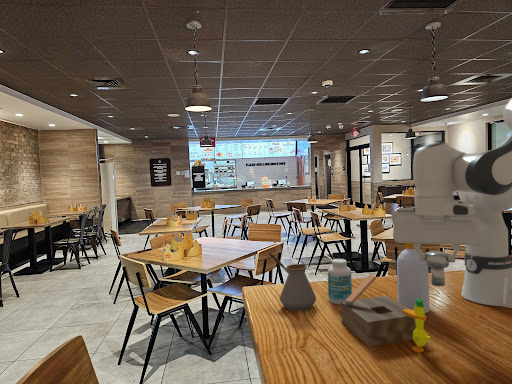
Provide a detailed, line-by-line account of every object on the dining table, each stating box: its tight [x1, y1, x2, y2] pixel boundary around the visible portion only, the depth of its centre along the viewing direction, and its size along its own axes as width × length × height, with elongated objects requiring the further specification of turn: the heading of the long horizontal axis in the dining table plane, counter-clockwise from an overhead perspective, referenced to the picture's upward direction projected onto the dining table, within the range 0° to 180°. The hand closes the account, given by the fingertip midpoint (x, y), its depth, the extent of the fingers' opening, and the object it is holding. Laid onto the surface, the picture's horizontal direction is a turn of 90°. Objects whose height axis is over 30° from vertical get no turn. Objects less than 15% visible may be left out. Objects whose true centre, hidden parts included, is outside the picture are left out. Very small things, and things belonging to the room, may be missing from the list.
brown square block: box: [340, 295, 416, 347], centre depth 90 cm, size 14×14×6 cm
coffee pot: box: [266, 252, 317, 312], centre depth 113 cm, size 21×12×15 cm, turn 32°
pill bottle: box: [327, 258, 353, 306], centre depth 111 cm, size 8×7×14 cm
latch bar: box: [344, 273, 377, 307], centre depth 93 cm, size 11×3×1 cm
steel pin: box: [424, 250, 450, 287], centre depth 88 cm, size 5×5×8 cm
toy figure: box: [403, 299, 431, 354], centre depth 79 cm, size 7×4×12 cm, turn 32°
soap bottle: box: [396, 243, 430, 314], centre depth 102 cm, size 9×9×24 cm
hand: (437, 261), depth 88 cm, fingers closed on steel pin, 5 cm apart
